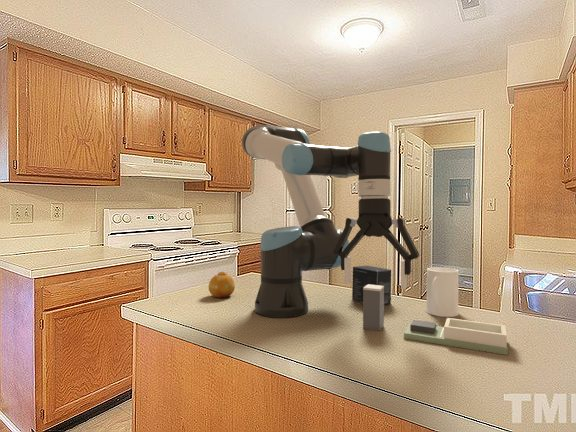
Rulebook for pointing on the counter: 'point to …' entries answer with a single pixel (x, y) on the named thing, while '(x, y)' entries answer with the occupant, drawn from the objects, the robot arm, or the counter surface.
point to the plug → (373, 307)
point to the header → (475, 332)
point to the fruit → (221, 285)
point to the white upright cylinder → (442, 291)
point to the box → (371, 281)
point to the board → (436, 335)
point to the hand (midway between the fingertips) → (374, 285)
